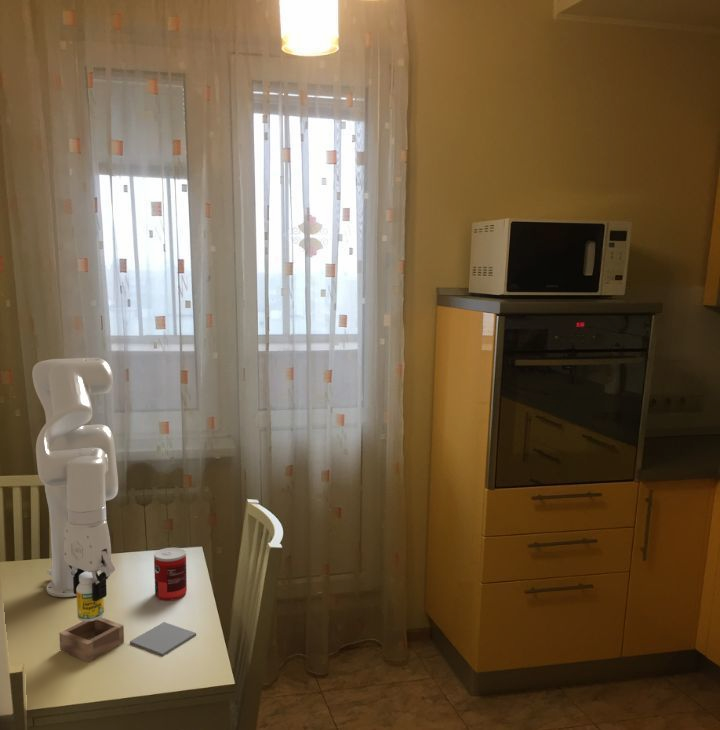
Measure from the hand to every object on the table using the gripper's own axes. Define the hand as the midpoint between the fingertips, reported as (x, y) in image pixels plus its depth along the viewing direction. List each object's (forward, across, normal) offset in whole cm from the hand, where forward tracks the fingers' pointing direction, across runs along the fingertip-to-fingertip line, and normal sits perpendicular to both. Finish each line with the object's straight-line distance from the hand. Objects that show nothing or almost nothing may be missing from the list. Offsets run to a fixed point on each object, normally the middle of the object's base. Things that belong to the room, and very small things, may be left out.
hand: (90, 594), depth 143 cm
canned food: (+12, -3, +27) cm, 29 cm away
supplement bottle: (+5, 0, 0) cm, 5 cm away
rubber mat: (+12, +12, +10) cm, 19 cm away
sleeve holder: (+12, +1, 0) cm, 12 cm away
